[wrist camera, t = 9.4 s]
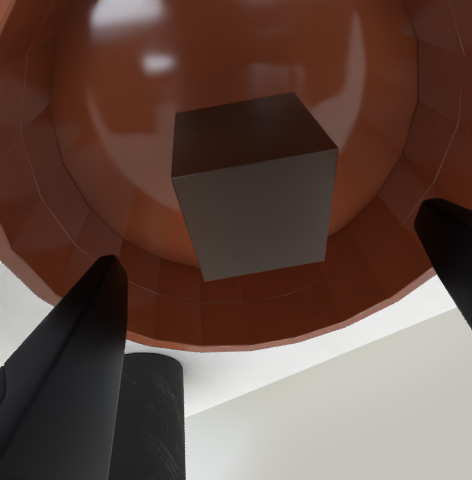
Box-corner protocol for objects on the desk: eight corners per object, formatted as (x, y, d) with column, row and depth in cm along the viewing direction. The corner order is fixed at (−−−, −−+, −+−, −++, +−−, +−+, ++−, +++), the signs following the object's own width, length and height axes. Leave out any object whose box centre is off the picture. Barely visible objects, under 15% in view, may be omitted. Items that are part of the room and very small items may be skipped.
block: (200, 207, 14) (204, 282, 11) (174, 113, 11) (169, 178, 8) (293, 191, 14) (325, 261, 11) (294, 91, 11) (339, 147, 8)
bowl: (132, 287, 18) (117, 374, 14) (-96, -77, 7) (-390, -114, 4) (378, 244, 18) (429, 320, 14) (510, -184, 7) (849, -331, 4)
